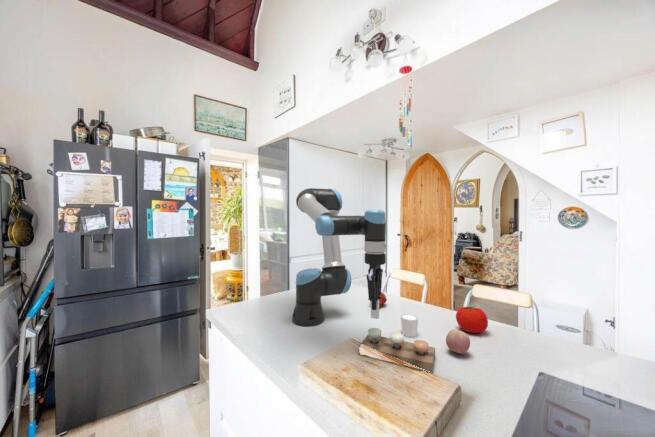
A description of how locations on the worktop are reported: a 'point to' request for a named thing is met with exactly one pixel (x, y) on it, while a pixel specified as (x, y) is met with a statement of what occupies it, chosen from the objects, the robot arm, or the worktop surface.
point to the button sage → (374, 334)
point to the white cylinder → (409, 325)
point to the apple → (458, 341)
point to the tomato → (472, 319)
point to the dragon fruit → (382, 300)
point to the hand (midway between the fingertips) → (375, 317)
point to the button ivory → (397, 339)
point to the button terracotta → (421, 346)
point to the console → (404, 352)
